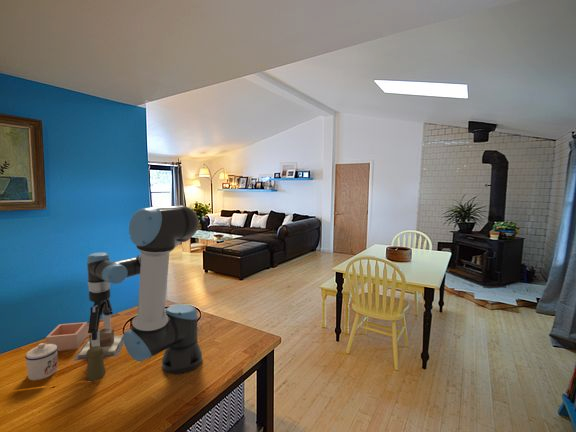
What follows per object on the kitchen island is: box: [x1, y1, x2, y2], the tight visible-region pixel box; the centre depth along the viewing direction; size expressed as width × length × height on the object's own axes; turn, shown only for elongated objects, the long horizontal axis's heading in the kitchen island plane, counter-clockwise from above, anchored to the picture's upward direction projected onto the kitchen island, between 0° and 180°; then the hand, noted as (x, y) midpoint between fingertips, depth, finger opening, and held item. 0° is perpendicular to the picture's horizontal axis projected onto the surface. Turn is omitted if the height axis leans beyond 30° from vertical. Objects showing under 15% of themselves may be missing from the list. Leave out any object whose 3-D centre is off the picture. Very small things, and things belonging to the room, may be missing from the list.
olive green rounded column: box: [86, 346, 107, 382], centre depth 107 cm, size 6×6×11 cm
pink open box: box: [45, 321, 89, 352], centre depth 126 cm, size 11×11×7 cm
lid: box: [78, 327, 124, 358], centre depth 124 cm, size 13×13×7 cm
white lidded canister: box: [24, 342, 59, 381], centre depth 108 cm, size 12×9×12 cm
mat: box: [72, 338, 125, 362], centre depth 124 cm, size 16×16×1 cm
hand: (101, 337), depth 124 cm, fingers open, 13 cm apart
